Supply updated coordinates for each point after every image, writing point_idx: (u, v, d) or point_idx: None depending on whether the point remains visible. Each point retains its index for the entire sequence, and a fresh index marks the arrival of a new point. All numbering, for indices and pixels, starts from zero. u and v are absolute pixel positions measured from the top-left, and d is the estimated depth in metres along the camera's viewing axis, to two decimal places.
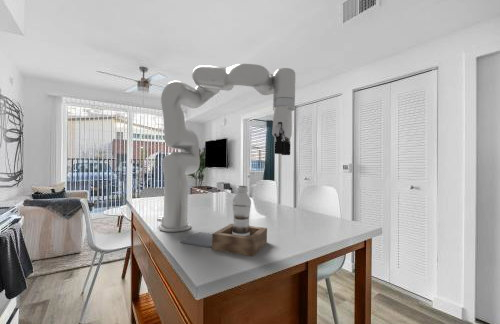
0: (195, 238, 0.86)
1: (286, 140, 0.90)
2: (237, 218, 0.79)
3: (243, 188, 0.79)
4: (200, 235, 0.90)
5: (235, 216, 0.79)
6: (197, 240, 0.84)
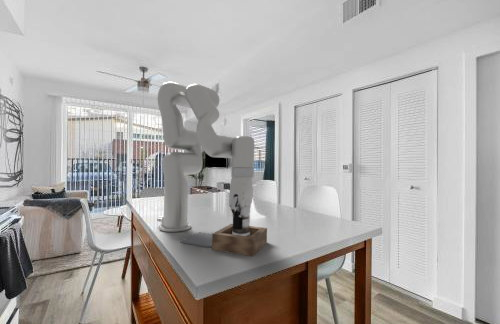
0: (195, 238, 0.86)
1: None
2: None
3: None
4: (200, 235, 0.90)
5: None
6: (197, 240, 0.84)
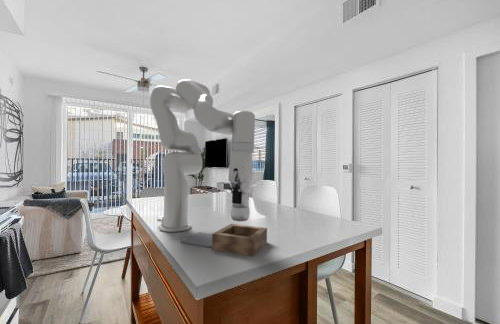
0: (195, 238, 0.86)
1: None
2: None
3: None
4: (200, 235, 0.90)
5: None
6: (197, 240, 0.84)
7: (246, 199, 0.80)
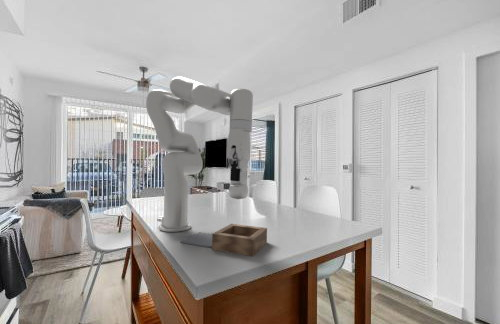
0: (195, 238, 0.86)
1: None
2: None
3: None
4: (200, 235, 0.90)
5: None
6: (197, 240, 0.84)
7: (244, 177, 0.80)
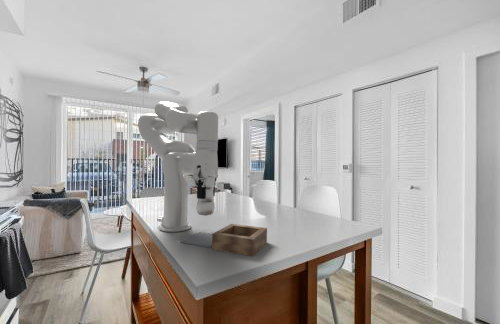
0: (195, 238, 0.86)
1: None
2: None
3: None
4: (200, 235, 0.90)
5: None
6: (197, 240, 0.84)
7: (210, 194, 0.84)
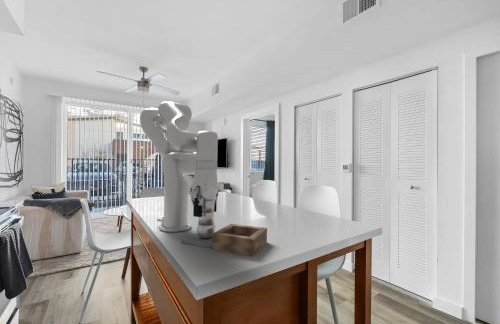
0: (195, 238, 0.86)
1: None
2: None
3: None
4: None
5: None
6: (197, 240, 0.84)
7: (211, 217, 0.86)
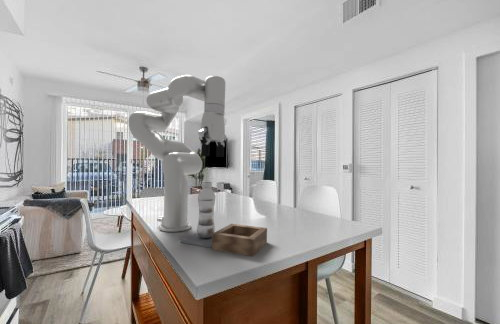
0: (195, 238, 0.86)
1: (221, 143, 0.95)
2: (201, 212, 0.85)
3: (207, 184, 0.86)
4: None
5: (200, 210, 0.86)
6: (197, 240, 0.84)
7: (211, 217, 0.86)
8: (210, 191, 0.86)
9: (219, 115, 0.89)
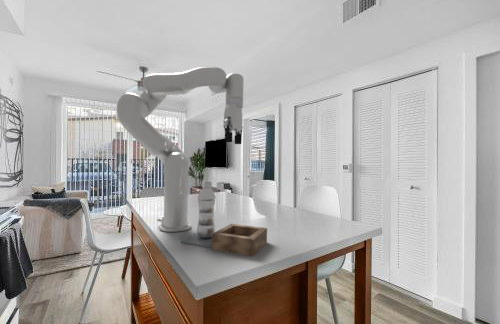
0: (195, 238, 0.86)
1: (238, 132, 1.10)
2: (202, 212, 0.85)
3: (207, 184, 0.86)
4: None
5: (200, 210, 0.86)
6: (197, 240, 0.84)
7: (211, 217, 0.86)
8: (210, 191, 0.86)
9: (239, 107, 1.03)
